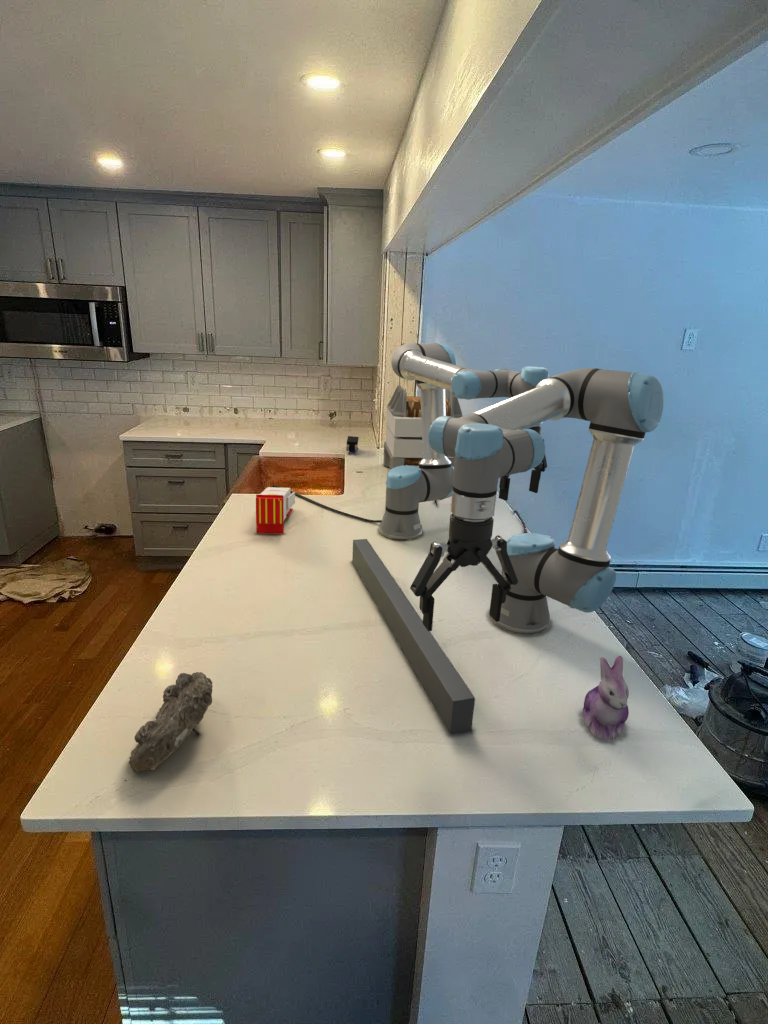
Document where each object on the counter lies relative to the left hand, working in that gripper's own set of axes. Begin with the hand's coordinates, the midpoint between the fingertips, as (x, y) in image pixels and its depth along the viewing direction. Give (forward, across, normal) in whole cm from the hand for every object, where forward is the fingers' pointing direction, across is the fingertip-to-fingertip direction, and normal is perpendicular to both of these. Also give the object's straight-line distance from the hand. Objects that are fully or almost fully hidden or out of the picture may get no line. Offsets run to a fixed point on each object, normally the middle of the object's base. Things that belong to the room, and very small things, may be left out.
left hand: (518, 495), depth 166 cm
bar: (+24, -49, -6) cm, 55 cm away
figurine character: (+27, +44, +147) cm, 156 cm away
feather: (+26, +31, +66) cm, 77 cm away
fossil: (+24, -106, -13) cm, 109 cm away
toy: (+26, -40, +76) cm, 89 cm away
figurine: (+24, -38, -57) cm, 73 cm away
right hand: (+4, -60, -37) cm, 71 cm away
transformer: (+26, +49, +97) cm, 112 cm away
